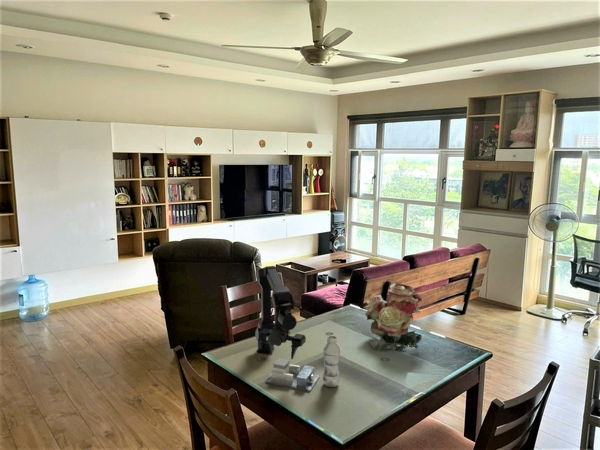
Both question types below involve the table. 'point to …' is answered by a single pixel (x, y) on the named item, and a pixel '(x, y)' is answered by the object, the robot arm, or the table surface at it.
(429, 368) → the table surface
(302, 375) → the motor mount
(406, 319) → the rose bouquet
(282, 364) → the grey rectangular block
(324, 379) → the plastic bottle
